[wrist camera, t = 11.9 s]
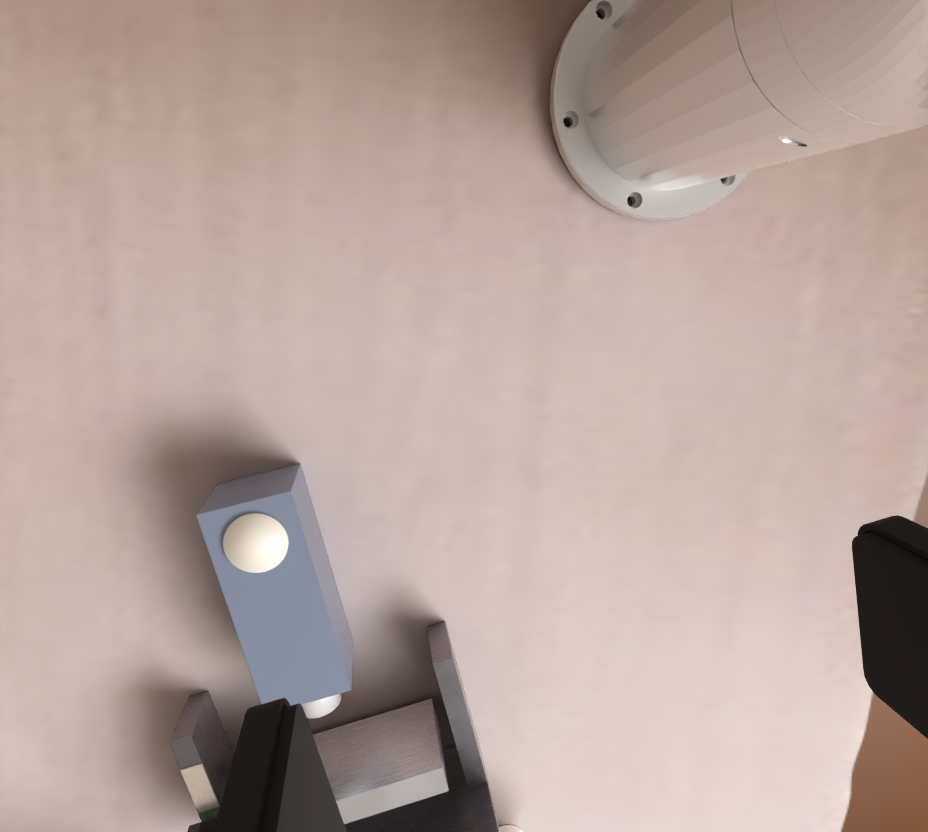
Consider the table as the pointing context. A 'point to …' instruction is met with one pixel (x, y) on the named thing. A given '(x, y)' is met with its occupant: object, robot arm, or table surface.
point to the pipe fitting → (509, 828)
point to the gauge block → (280, 588)
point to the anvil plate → (383, 761)
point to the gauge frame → (403, 828)
